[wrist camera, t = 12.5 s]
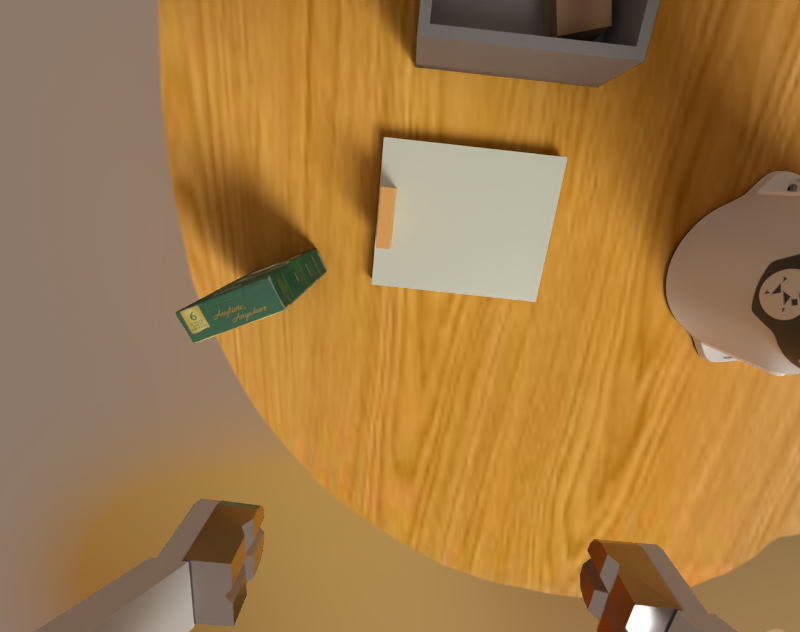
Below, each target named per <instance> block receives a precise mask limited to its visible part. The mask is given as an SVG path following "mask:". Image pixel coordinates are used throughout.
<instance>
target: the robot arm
mask: <svg viewBox="0 0 800 632" xmlns="http://www.w3.org/2000/svg"><path fill="white" fill-rule="evenodd" d="M789 186H790V190H789V191H787V189H788V187H789ZM666 295H667V301H668V304H669V307H670V310H671V312H672V314H673V315H674V317H675V318H676V320H677V321H678V322H679V323H680V324H681V325H682V326H683V327H684V328H685V329H686V330H687V331H688V332H689V333H690V334H691V336H692V337H693V340H694V343H695V347H696V350H697V352H698V354H699V355H700V357H702V358H703V359H706V360H708V361H711V362H725V361H738V360H740V361H742V362H745V363H747V364H749V365H752V366H754V367H756V368H759V369H761V370H763V371H766V372H768V373H771V374H773V375H777V376H784V375H785V374H800V175H798V174H795V173H792V172H788V171H773V172H771V173H769V174H767V175H766V176H764V177H763V178H762V179H761V180H760V181H758V182H757V183H756V184H755V185H754V186H753V187H752V188H751V189H750V190H749V191H748V192H747V193H746V194H745V195H743V196H741V197H740V198H738V199H736V200H734V201H732V202H730V203H728V204H725V205H723V206H721V207H719V208H718V209H716V210H714V211H713V212H711V213H710V214H708V215H707V216H705V217H704V218H703V219H702V220H700V221H699V222H698V223H697V224H696V225H695V226H694V227H693V228H692V229H691V230H690V231H689V232H688V233H687V235H686V236H685V237H684V238H683V240H682V241H681V243H680V244H679V246H678V248H677V249H676V251H675V253H674V255H673V257H672V260H671V263H670V265H669V269H668V273H667V279H666ZM263 519H264V509H263V507H262V506H259V505H252V504H243V503H236V502H228V501H218V500H210V499H202V498H201V499H200V500H199V501H197V502H196V503H195V504H194V505H193V507H192V508H191V510H190V511H189V513H188V514H187V516H186V517H185V518H184V520H183V521H182V523H181V524H180V526H179V527H178V529H177V530H176V531H175V533H174V534H173V536H172V537H171V538H170V540H169V541H168V543H167V544H166V546H165V547H164V548H163V550H162V551H161V553H160V554H159V556H158V557H157V558H149V559H147V560H146V561H144V562H143V563H141V564H139V565H138V566H136V567H135V568H133V569H132V570H130V571H128V572H127V573H125V574H124V575H122V576H121V577H119V578H117V579H116V580H114V581H113V582H111V583H110V584H108V585H107V586H105V587H103V588H102V589H100V590H99V591H97V592H95V593H94V594H92V595H91V596H89V597H88V598H86V599H84V600H83V601H81V602H80V603H78V604H77V605H75V606H73V607H72V608H70V609H69V610H67V611H66V612H64V613H62V614H61V615H59V616H58V617H56V618H55V619H53V620H52V621H50V622H48V623H47V624H46V625H44V626H42V627H40V628H39V629H37V630H36V631H34V632H189V631H190V630H191V629H192V628H193V627H194V624H208V625H223V626H234V625H235V622H236V620H237V617H238V615H239V612H240V610H241V608H242V605H243V603H244V600H245V598H246V596H247V590H246V583H247V582H248V581H249V580H250V579H252V578H253V577H254V576H255V573H256V571H257V568H258V565H259V563H260V559H261V555H262V551H263V545H264V531H263V530H262V529H261V528H260V526H261V523H262V521H263ZM588 553H589V555H590V557H591V559H589V560H588V561H587V562H585V563H584V564H583V566H582V569H581V573H580V588H581V592H582V596H583V599H584V602H585V604H586V606H587V609H588V610H589V611H590V612H591V613H592V614H593V615H594V616H595V617H596V618H597V619H598V620H599V622H598V626H597V632H737V631H736V630H735V629H733V628H732V627H731V626H729V625H728V624H727V623H726V622H724V621H723V620H722V619H720V618H719V617H718V616H716V615H715V614H709V613H707V611H706V610H705V608H704V607H703V606H702V604H701V603H700V601H699V600H698V599H697V597H696V596H695V594H694V593H693V592H692V590H691V589H690V587H689V586H688V584H687V583H686V582H685V580H684V579H683V577H682V576H681V575H680V573H679V572H678V570H677V569H676V568H675V566H674V565H673V563H672V562H671V561H670V559H669V558H668V556H667V555H666V554H665V552H664V551H663V550H662V549H661V548H660V547H659V546H657V545H653V544H642V543H632V542H621V541H610V540H599V539H594V540H593V541H592V542H591V543H590V545H589V548H588Z"/></svg>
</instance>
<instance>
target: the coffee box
mask: <svg viewBox="0 0 800 632" xmlns="http://www.w3.org/2000/svg"><path fill="white" fill-rule="evenodd" d="M326 272H327V270H326V268H325V265H324V263H323V261H322V258H321V256H320V254H319V252H318V251H317V249H316V248H315V249H312V250H309V251H307V252H304V253H301V254H299V255H296V256H294V257H291V258H288V259H286V260H283V261H281V262H278V263H275V264H273V265H270V266H267V267H265V268H262V269H260V270H257V271H255V272H252V273H250V274H247V275H245V276H244V277H241V278H239V279H237V280H236V281H234V282H232V283H230V284H228V285H226V286H224V287H222V288H220V289H219V290H217V291H215V292H213V293H211V294H209V295H207V296H206V297H204V298H202V299H200V300H198V301H196V302H195V303H192V304H191V305H189V306H187V307H185V308H183V309H181V310H179V311H177V312H176V316H177V317H178V319H179V320H180V322H181V323H182V325H183V326H184V328H185V329H186V331H187V333H188V334H189V336H190V338H191V339H192V341H193V342H194V343H197V342H200V341H202V340H205V339H208V338H211V337H214V336H217V335H219V334H222V333H225V332H227V331H230V330H233V329H236V328H239V327H241V326H244V325H247V324H250V323H252V322H255V321H258V320H261V319H263V318H266V317H269V316H271V315H274V314H276V313H279V312H282V311H284V310H286V309H287V308H288V307H289V306H290V305H291V304H292V303H293V302H294V301H295V300H296V299H297V298H298V297H299V296H300V295H301V294H303V293H304V292H305V291H306V290H307V289H308V288H309V287H310V286H311V285H312V284H313V283H314V282H316V281H317V280H318V279H319V278H320V277H321V276H322V275H323V274H325V273H326Z"/></svg>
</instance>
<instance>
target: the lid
mask: <svg viewBox="0 0 800 632" xmlns="http://www.w3.org/2000/svg"><path fill="white" fill-rule="evenodd" d="M567 158H568V157H560V156H551V155H542V154H533V153H524V152H515V151H506V150H497V149H488V148H479V147H470V146H461V145H452V144H443V143H434V142H425V141H416V140H407V139H397V138H388V137H384V142H383V154H382V166H381V178H380V190H379V202H378V214H377V226H376V238H375V250H374V262H373V274H372V284H374V285H383V286H392V287H402V288H411V289H420V290H430V291H439V292H448V293H458V294H467V295H476V296H486V297H495V298H504V299H514V300H523V301H532V302H536V298H537V294H538V289H539V285H540V280H541V276H542V271H543V266H544V262H545V257H546V253H547V248H548V244H549V239H550V235H551V230H552V226H553V221H554V217H555V212H556V208H557V203H558V199H559V194H560V190H561V185H562V181H563V176H564V172H565V167H566V163H567Z"/></svg>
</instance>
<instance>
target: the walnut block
mask: <svg viewBox="0 0 800 632" xmlns="http://www.w3.org/2000/svg"><path fill="white" fill-rule="evenodd" d="M542 1H543V27H544V36H545V37H554V38H563V39H572V40H581V41H594V40H595V39H596V38H597V37H598V36H600V35H601V34H602V33H603V32H604V31H606V30H607V29H608V28H609V27H610V26H612V0H542Z"/></svg>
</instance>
